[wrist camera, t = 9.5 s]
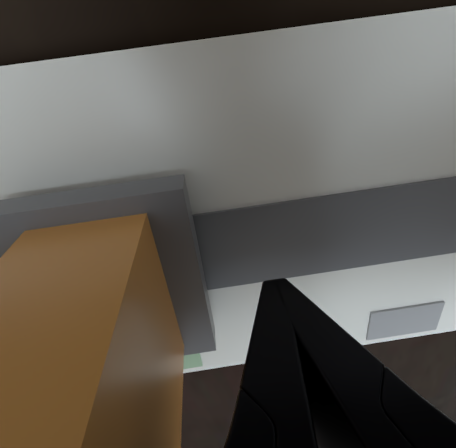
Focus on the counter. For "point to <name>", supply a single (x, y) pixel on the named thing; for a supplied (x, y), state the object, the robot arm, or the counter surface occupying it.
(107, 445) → the toggle
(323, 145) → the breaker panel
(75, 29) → the counter surface
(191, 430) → the counter surface
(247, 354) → the robot arm
